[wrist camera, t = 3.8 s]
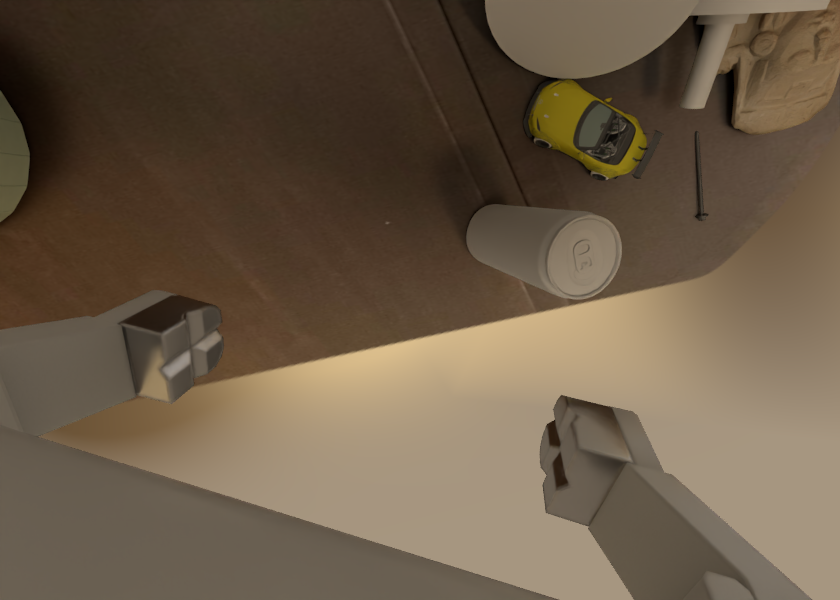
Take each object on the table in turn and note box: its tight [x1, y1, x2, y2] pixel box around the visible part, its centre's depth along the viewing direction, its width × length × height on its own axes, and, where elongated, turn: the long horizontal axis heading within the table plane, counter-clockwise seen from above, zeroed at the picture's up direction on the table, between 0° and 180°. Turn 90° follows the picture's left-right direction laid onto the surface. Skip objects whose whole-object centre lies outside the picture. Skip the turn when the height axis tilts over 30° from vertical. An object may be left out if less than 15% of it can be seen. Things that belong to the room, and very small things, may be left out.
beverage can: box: [466, 204, 622, 299], centre depth 26 cm, size 5×5×12 cm
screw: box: [695, 131, 708, 221], centre depth 35 cm, size 8×1×1 cm
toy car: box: [523, 79, 664, 180], centre depth 29 cm, size 5×10×3 cm, turn 66°
